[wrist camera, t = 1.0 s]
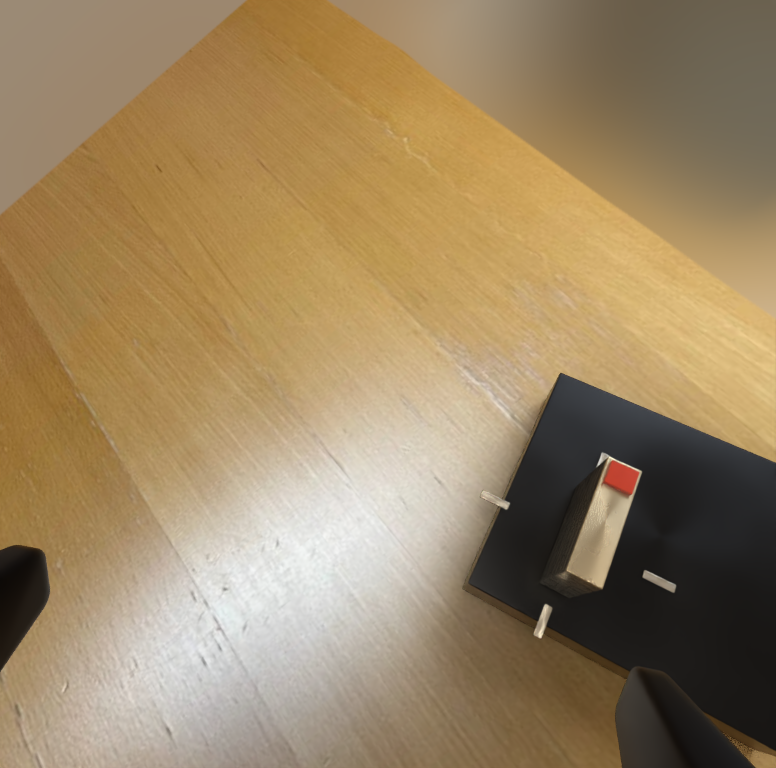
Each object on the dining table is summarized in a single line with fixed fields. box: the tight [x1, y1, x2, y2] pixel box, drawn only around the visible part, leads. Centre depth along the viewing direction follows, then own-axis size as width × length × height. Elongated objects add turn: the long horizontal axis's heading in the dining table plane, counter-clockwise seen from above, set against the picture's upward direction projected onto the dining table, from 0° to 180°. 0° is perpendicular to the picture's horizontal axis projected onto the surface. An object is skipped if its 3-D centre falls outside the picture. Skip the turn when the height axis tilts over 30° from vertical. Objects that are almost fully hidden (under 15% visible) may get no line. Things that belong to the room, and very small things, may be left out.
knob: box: [540, 457, 642, 598], centre depth 22 cm, size 5×1×5 cm, turn 152°
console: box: [463, 373, 776, 756], centre depth 25 cm, size 13×15×3 cm
